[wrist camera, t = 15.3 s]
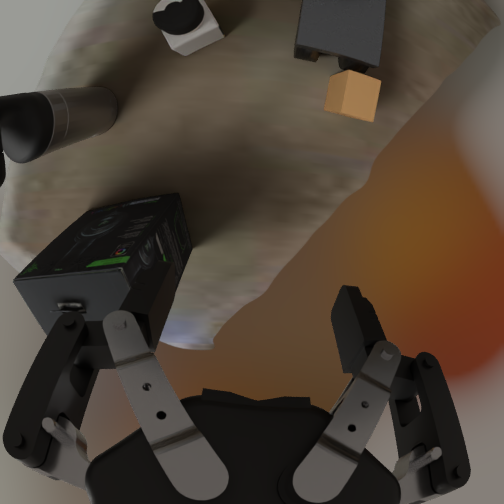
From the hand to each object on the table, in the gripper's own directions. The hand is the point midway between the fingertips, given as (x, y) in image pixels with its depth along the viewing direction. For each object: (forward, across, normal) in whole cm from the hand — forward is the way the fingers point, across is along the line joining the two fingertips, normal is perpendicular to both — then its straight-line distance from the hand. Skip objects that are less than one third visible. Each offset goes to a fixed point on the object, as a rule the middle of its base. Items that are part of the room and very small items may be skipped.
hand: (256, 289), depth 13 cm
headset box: (+34, +22, +17) cm, 44 cm away
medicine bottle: (+34, +13, -20) cm, 42 cm away
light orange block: (+34, -11, -12) cm, 38 cm away
